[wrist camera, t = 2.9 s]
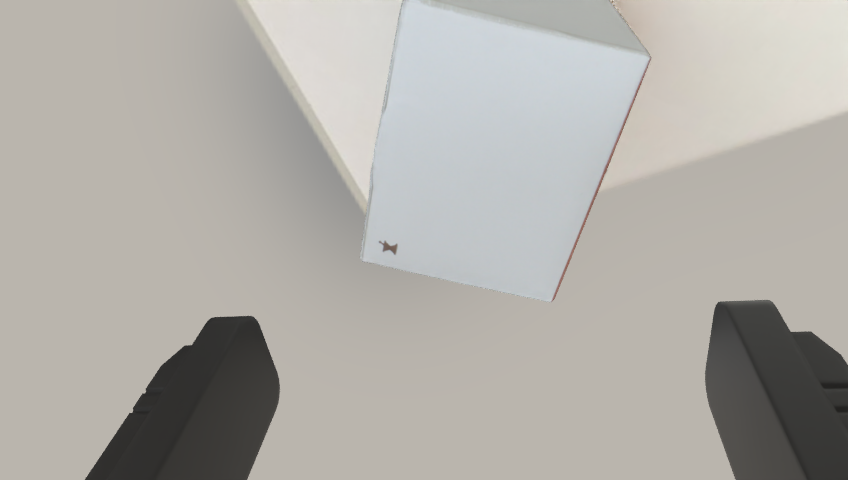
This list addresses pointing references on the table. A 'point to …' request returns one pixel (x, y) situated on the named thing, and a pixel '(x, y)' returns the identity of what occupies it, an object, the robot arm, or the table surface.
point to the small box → (497, 138)
